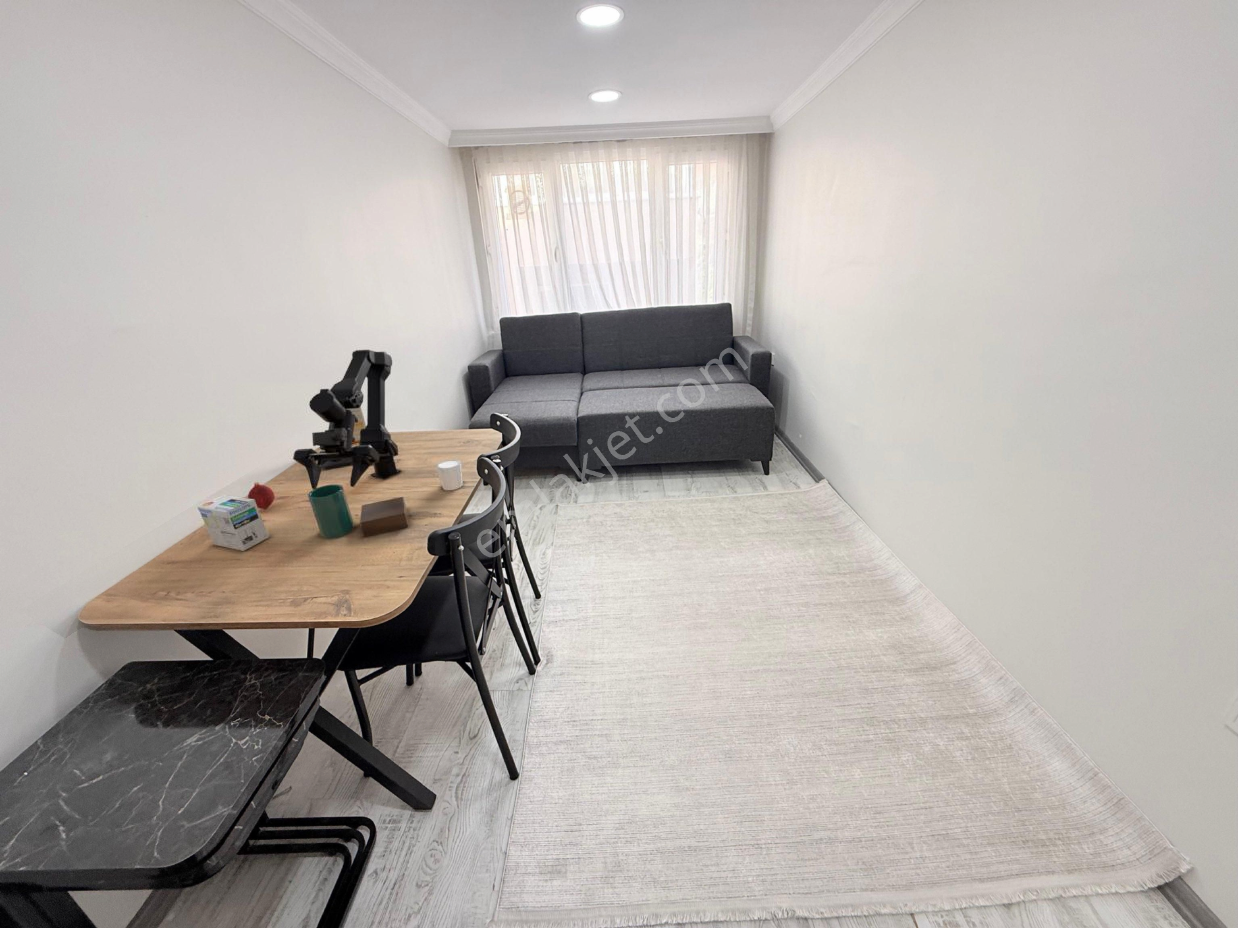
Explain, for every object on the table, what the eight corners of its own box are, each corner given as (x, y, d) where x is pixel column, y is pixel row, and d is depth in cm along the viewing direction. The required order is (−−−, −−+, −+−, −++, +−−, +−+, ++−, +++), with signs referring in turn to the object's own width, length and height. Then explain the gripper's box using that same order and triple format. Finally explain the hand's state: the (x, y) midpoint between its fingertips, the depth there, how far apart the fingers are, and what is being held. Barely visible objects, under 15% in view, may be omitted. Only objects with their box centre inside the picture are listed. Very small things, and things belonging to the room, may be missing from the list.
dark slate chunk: (390, 459, 165) (387, 446, 163) (317, 471, 158) (313, 457, 156) (393, 444, 178) (390, 432, 176) (326, 454, 172) (322, 442, 170)
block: (365, 518, 128) (361, 505, 126) (406, 509, 131) (403, 496, 130) (364, 537, 119) (359, 522, 118) (408, 527, 123) (404, 513, 121)
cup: (314, 534, 122) (301, 494, 117) (342, 520, 127) (331, 482, 123) (332, 541, 118) (319, 500, 114) (360, 526, 124) (349, 487, 120)
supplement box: (368, 436, 188) (359, 403, 182) (369, 439, 184) (361, 406, 179) (344, 441, 184) (334, 407, 179) (345, 444, 180) (335, 410, 175)
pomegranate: (282, 505, 137) (273, 479, 133) (261, 515, 132) (251, 488, 129) (269, 502, 139) (260, 476, 136) (248, 511, 134) (238, 485, 131)
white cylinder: (468, 480, 147) (464, 459, 144) (459, 491, 140) (455, 469, 138) (446, 480, 147) (441, 459, 145) (436, 491, 141) (431, 468, 138)
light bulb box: (270, 537, 121) (255, 498, 117) (243, 552, 115) (227, 511, 111) (240, 531, 124) (224, 493, 120) (212, 545, 119) (195, 506, 114)
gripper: (285, 419, 120) (273, 479, 114) (363, 414, 121) (356, 473, 115) (310, 438, 130) (301, 494, 124) (382, 433, 131) (376, 489, 125)
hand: (332, 487), depth 122 cm, fingers open, 9 cm apart
